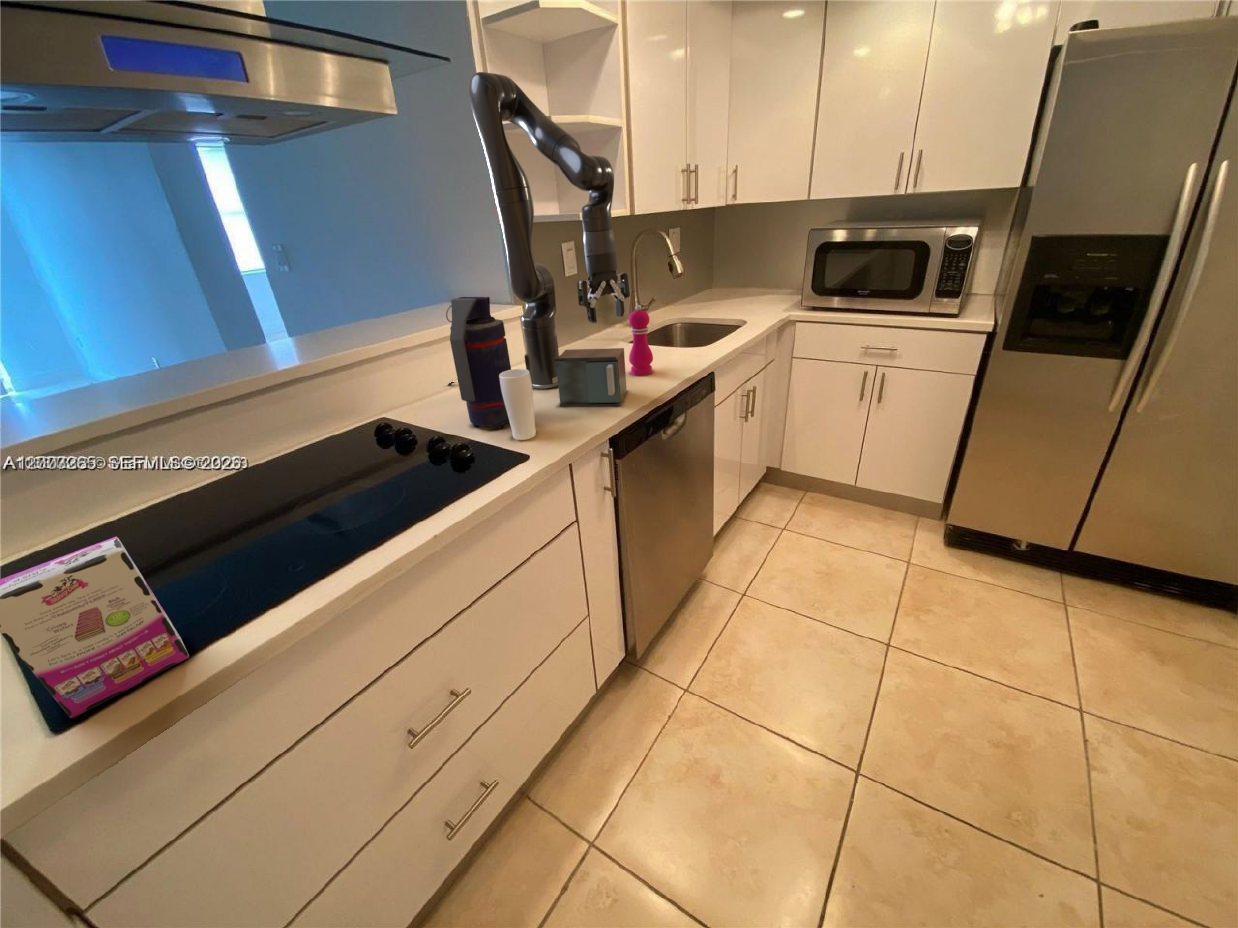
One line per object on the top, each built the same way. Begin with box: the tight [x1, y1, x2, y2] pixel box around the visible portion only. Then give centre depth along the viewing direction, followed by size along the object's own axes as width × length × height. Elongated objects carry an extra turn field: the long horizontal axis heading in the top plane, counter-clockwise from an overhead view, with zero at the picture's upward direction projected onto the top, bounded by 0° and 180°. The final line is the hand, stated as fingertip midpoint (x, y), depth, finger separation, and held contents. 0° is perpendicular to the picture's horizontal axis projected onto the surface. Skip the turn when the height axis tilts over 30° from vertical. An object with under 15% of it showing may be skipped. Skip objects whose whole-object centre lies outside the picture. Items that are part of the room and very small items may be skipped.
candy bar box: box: [0, 536, 190, 719], centre depth 58 cm, size 11×5×16 cm, turn 138°
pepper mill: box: [628, 304, 654, 377], centre depth 154 cm, size 7×7×20 cm
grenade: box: [445, 296, 512, 430], centre depth 122 cm, size 14×12×30 cm
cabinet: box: [554, 347, 628, 408], centre depth 137 cm, size 16×12×13 cm
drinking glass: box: [499, 368, 537, 441], centre depth 116 cm, size 7×7×15 cm
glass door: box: [585, 362, 620, 403], centre depth 130 cm, size 8×4×10 cm, turn 80°
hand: (606, 319), depth 133 cm, fingers open, 8 cm apart
